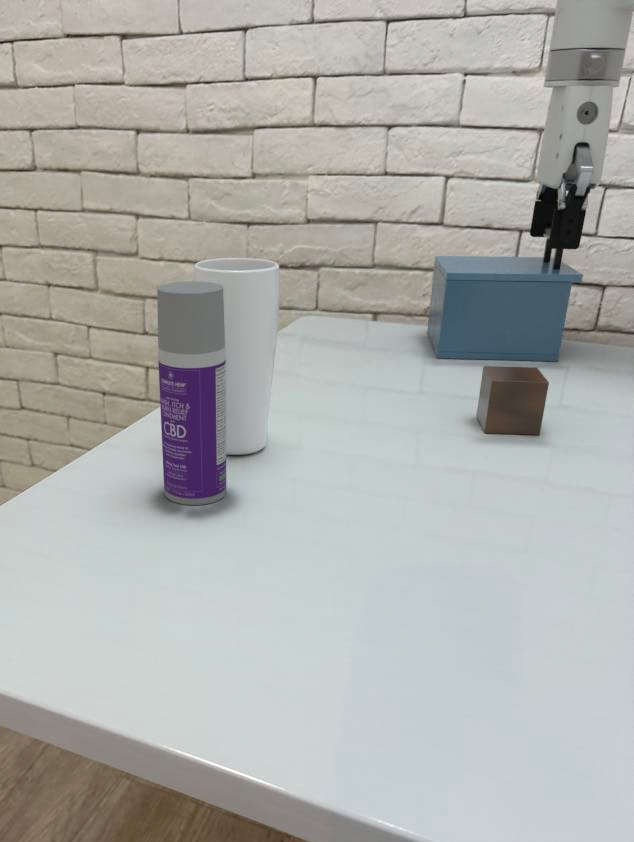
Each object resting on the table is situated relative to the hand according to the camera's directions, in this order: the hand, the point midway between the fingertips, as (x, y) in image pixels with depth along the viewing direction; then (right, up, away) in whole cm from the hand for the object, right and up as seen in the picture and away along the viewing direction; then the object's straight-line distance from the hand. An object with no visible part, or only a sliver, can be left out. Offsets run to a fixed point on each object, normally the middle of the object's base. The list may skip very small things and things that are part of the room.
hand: (552, 242), depth 94 cm
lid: (-5, -3, +2) cm, 6 cm away
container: (-40, -31, -33) cm, 60 cm away
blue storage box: (-5, -11, +6) cm, 13 cm away
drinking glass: (-37, -26, -24) cm, 51 cm away
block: (-12, -24, -20) cm, 33 cm away
